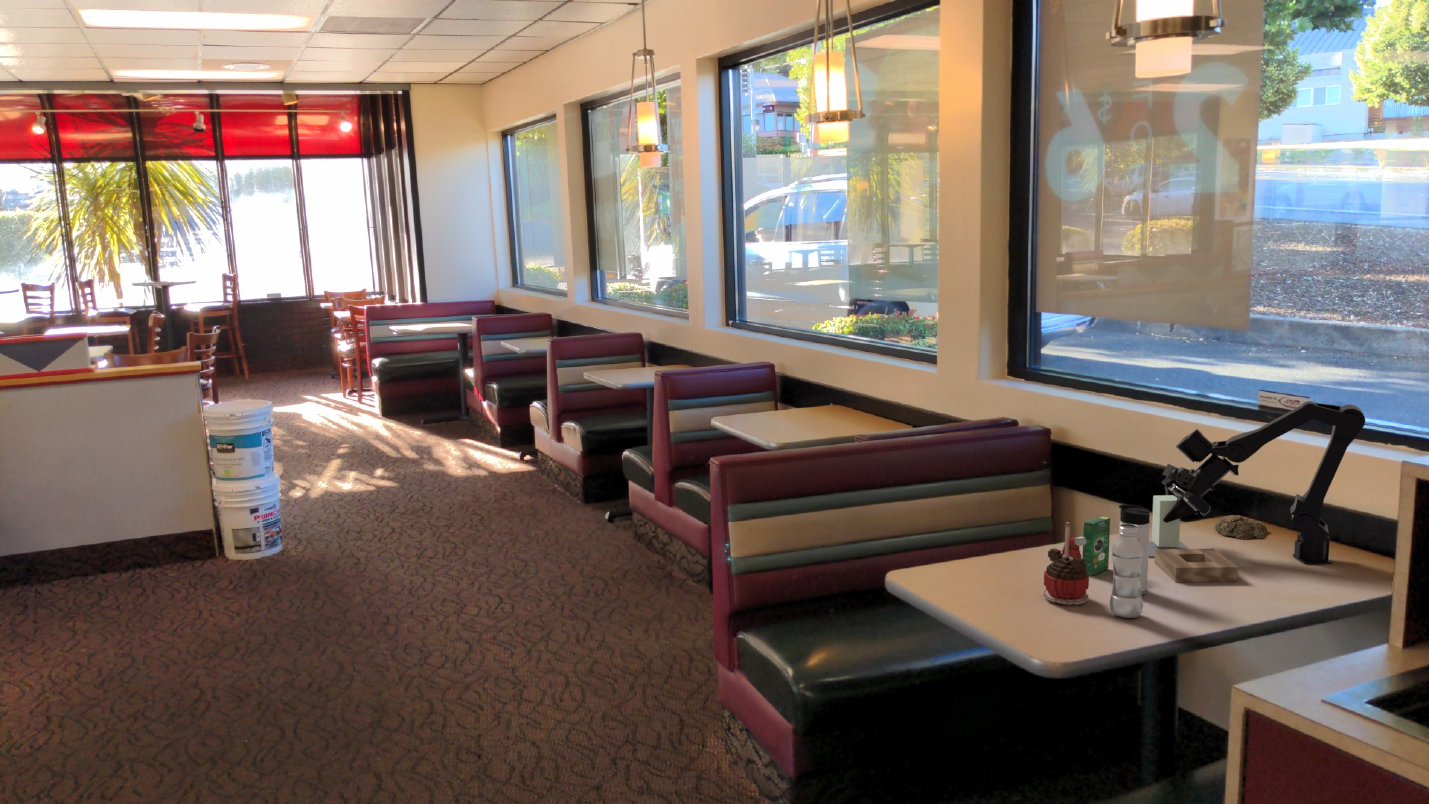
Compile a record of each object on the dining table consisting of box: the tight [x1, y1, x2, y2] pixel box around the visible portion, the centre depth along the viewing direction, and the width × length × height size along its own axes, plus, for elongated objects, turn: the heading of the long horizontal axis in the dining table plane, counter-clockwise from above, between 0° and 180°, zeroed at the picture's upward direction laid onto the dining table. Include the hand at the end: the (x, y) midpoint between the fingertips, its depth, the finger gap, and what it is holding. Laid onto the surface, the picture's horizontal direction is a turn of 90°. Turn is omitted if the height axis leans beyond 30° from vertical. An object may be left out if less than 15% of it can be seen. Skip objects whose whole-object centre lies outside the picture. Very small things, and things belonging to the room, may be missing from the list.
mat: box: [1148, 540, 1190, 559], centre depth 264 cm, size 12×12×1 cm
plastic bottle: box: [1109, 524, 1144, 619], centre depth 220 cm, size 6×7×20 cm
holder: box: [1154, 548, 1239, 583], centre depth 247 cm, size 14×14×4 cm
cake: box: [1043, 521, 1090, 605], centre depth 230 cm, size 11×9×18 cm
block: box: [1151, 494, 1181, 547], centre depth 263 cm, size 5×5×12 cm
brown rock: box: [1214, 514, 1269, 541], centre depth 276 cm, size 13×12×5 cm
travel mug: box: [1118, 503, 1151, 596], centre depth 234 cm, size 6×7×20 cm
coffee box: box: [1081, 515, 1111, 577], centre depth 249 cm, size 8×3×13 cm, turn 129°
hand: (1160, 518), depth 263 cm, fingers closed on block, 5 cm apart
